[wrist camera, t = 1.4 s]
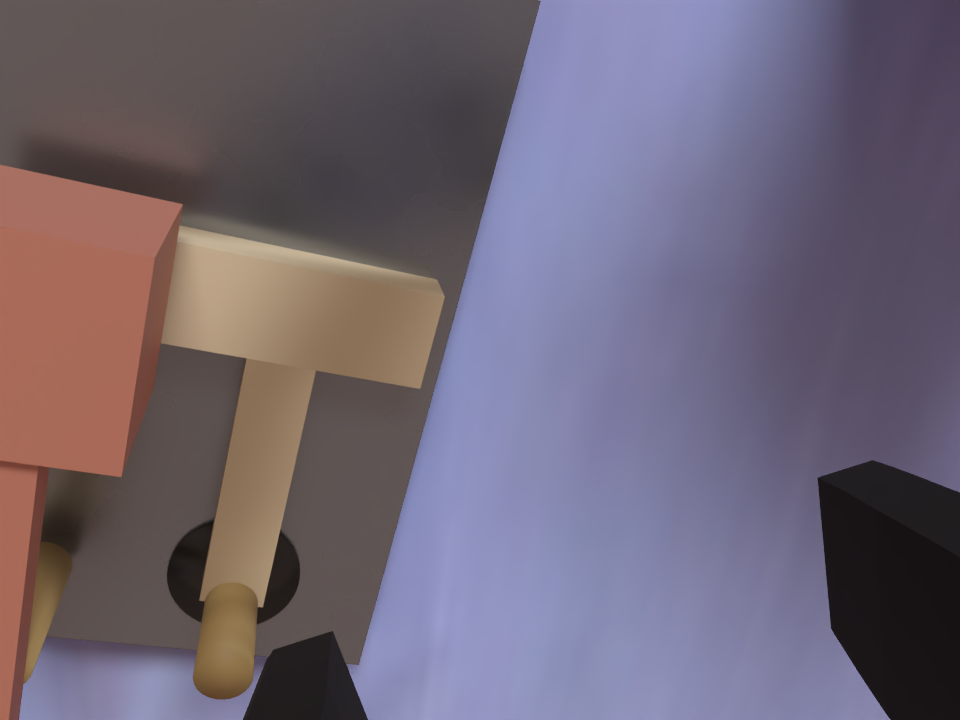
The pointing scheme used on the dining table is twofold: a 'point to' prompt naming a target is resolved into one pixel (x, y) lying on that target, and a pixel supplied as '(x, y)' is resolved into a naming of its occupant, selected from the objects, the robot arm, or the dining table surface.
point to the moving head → (68, 371)
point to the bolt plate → (272, 220)
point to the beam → (278, 397)
